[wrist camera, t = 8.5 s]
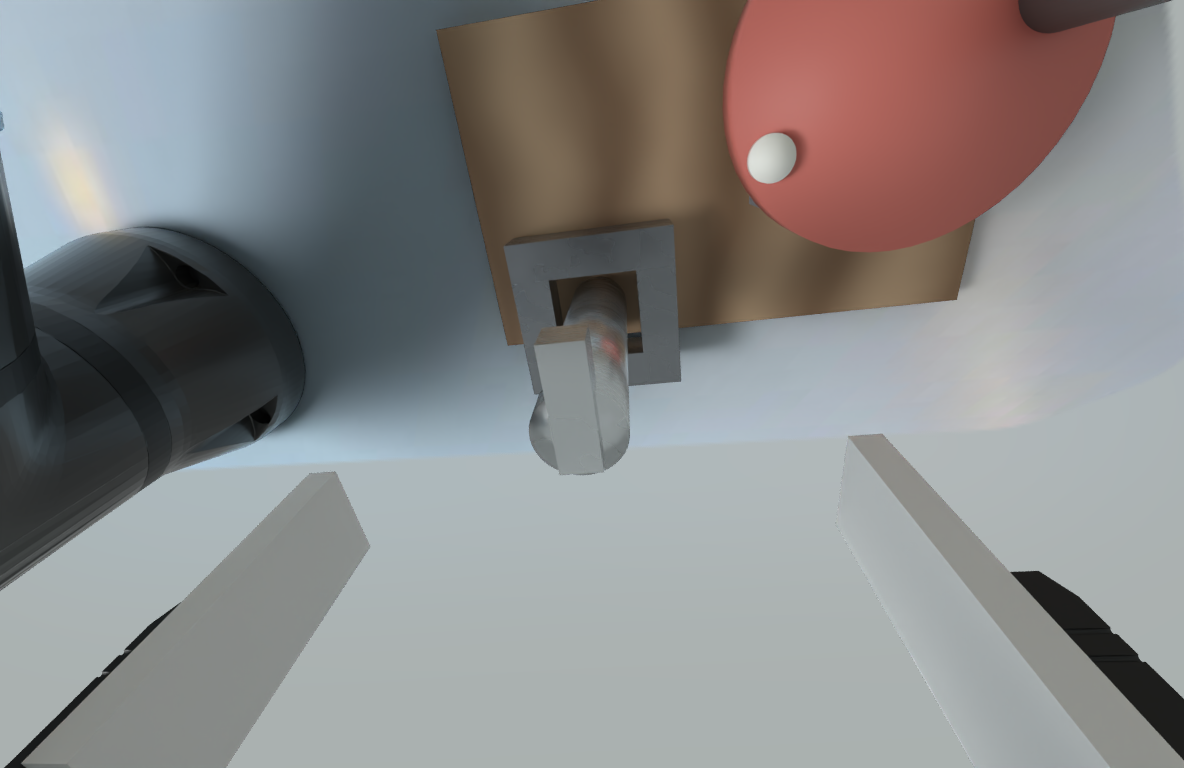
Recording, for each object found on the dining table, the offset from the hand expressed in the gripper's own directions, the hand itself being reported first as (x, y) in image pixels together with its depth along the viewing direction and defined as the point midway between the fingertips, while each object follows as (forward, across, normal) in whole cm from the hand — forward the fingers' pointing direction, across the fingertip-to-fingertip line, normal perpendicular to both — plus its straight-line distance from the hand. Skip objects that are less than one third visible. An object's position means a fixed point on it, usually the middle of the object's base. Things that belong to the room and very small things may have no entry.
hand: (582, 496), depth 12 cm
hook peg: (+17, 0, 0) cm, 17 cm away
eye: (+17, 0, 0) cm, 17 cm away
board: (+18, +7, +6) cm, 20 cm away
